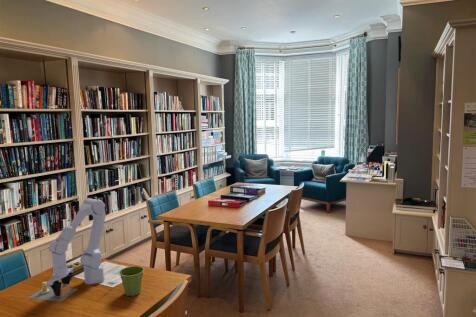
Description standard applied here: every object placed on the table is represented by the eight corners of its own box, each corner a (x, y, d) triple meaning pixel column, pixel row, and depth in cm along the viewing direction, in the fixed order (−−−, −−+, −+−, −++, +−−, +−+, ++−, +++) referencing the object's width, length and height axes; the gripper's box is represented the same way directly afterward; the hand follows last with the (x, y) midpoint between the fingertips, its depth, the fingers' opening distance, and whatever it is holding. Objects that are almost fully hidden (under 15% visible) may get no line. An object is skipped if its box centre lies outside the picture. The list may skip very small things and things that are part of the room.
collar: (61, 291, 168) (60, 283, 168) (70, 292, 167) (69, 284, 167) (53, 296, 163) (52, 288, 163) (62, 297, 162) (62, 289, 162)
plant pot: (150, 289, 171) (149, 267, 170) (133, 301, 161) (132, 277, 159) (131, 285, 176) (130, 264, 175) (114, 296, 166) (113, 273, 164)
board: (78, 291, 170) (77, 279, 170) (61, 304, 159) (60, 290, 158) (46, 288, 174) (45, 276, 173) (27, 301, 162) (26, 287, 162)
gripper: (63, 258, 172) (65, 285, 173) (40, 271, 158) (43, 299, 159) (75, 259, 170) (77, 286, 172) (54, 272, 156) (56, 301, 158)
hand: (61, 292), depth 165 cm, fingers closed on collar, 5 cm apart
